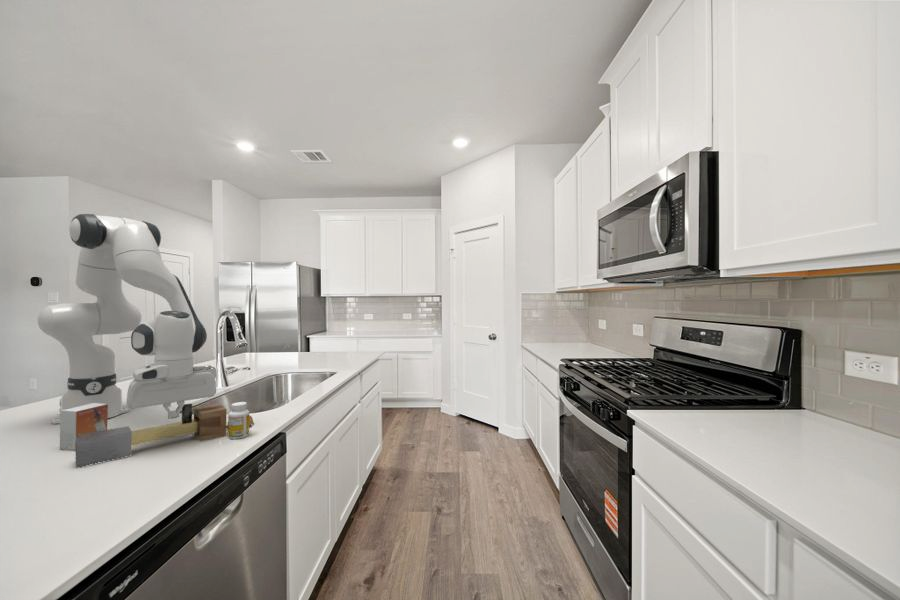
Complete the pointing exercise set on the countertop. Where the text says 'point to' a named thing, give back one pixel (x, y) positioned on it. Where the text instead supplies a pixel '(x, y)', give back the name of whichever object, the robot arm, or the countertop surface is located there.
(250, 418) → the pastry
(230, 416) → the supplement bottle
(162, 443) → the countertop surface
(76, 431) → the small box
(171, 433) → the yellow bar with knob
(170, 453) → the countertop surface
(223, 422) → the socket
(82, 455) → the sleeve
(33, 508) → the countertop surface
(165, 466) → the countertop surface
